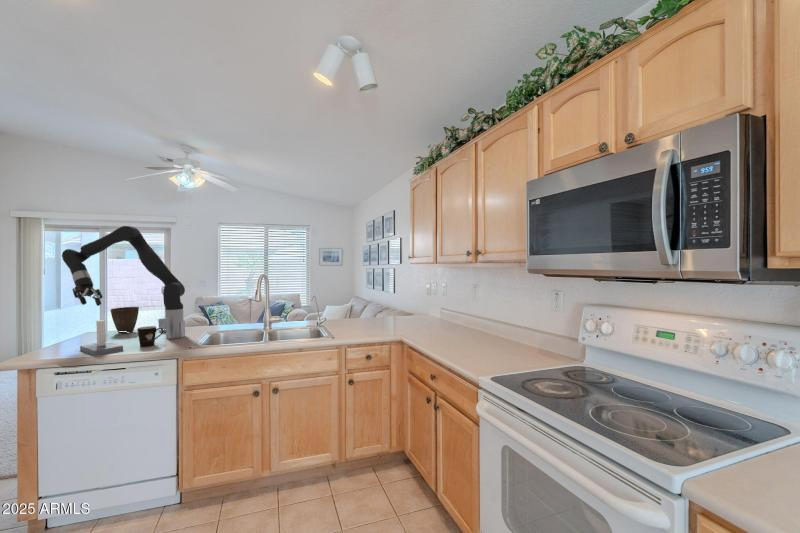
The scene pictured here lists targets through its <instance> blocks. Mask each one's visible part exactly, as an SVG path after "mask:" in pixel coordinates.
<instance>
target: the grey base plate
mask: <svg viewBox="0 0 800 533" xmlns="http://www.w3.org/2000/svg"><path fill="white" fill-rule="evenodd" d="M79 350H80V351H81V352H84V353H85V352H86V353H85V354H88V353H89V354H88V355H91V356H94V357H95V356H102V355H107V354H112V352H113V353H118V352H123V351H124V345H122V344H119V343H114V342H112V341H109V340H108V341H106V345H104V346H97V342H96V343H89V344H84V345H83V344H82V345H80V346H79ZM117 351H118V352H117ZM106 353H107V354H106ZM101 354H102V355H101Z"/></svg>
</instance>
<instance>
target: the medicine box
mask: <svg viewBox="0 0 800 533" xmlns="http://www.w3.org/2000/svg"><path fill="white" fill-rule="evenodd" d="M158 328H162V329H164V330H163V333H166V330H165V329H166V317H163V318H158ZM159 331H160V332H159ZM158 332H159V333H162V330H159V329H158Z"/></svg>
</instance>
